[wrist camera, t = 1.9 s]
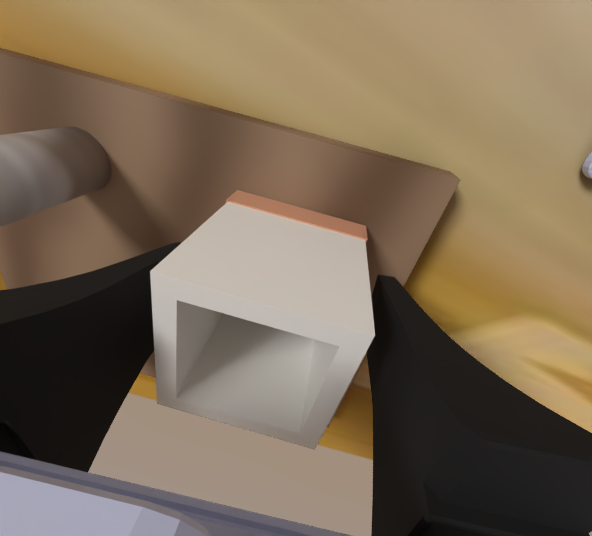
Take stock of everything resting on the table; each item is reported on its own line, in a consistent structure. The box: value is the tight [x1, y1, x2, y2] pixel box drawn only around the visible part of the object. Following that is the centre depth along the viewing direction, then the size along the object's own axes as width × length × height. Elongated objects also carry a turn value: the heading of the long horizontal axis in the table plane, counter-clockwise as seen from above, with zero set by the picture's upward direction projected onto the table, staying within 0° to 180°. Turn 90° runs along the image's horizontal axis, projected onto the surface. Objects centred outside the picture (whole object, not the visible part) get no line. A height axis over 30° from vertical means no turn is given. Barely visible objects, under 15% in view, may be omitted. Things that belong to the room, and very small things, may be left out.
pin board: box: [0, 48, 460, 427], centre depth 13 cm, size 20×16×5 cm
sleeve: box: [150, 190, 375, 449], centre depth 10 cm, size 5×5×6 cm
